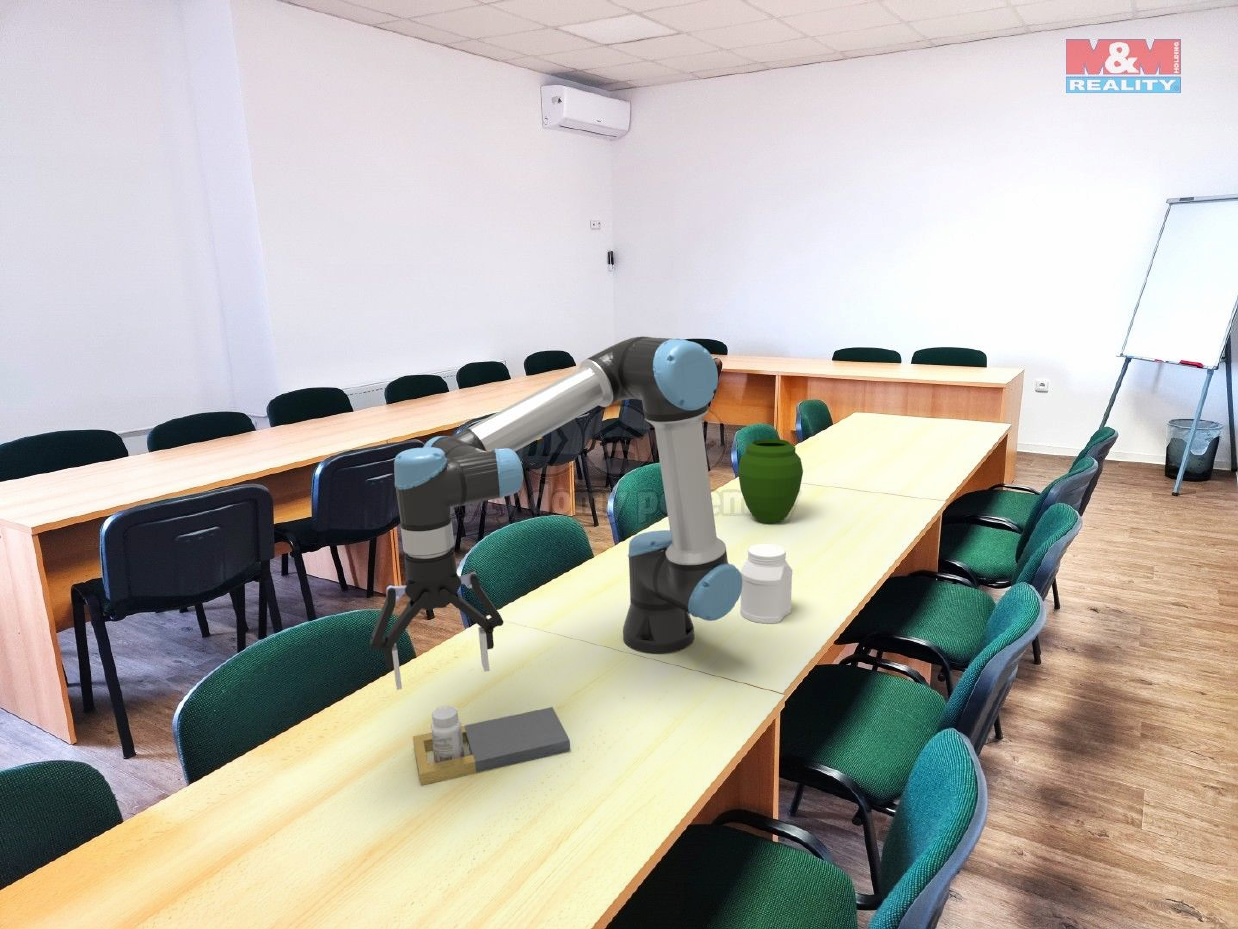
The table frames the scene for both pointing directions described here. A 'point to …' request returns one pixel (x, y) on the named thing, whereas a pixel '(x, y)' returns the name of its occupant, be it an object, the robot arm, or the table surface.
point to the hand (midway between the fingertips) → (442, 676)
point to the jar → (766, 584)
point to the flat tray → (496, 745)
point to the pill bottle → (446, 734)
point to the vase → (770, 479)
